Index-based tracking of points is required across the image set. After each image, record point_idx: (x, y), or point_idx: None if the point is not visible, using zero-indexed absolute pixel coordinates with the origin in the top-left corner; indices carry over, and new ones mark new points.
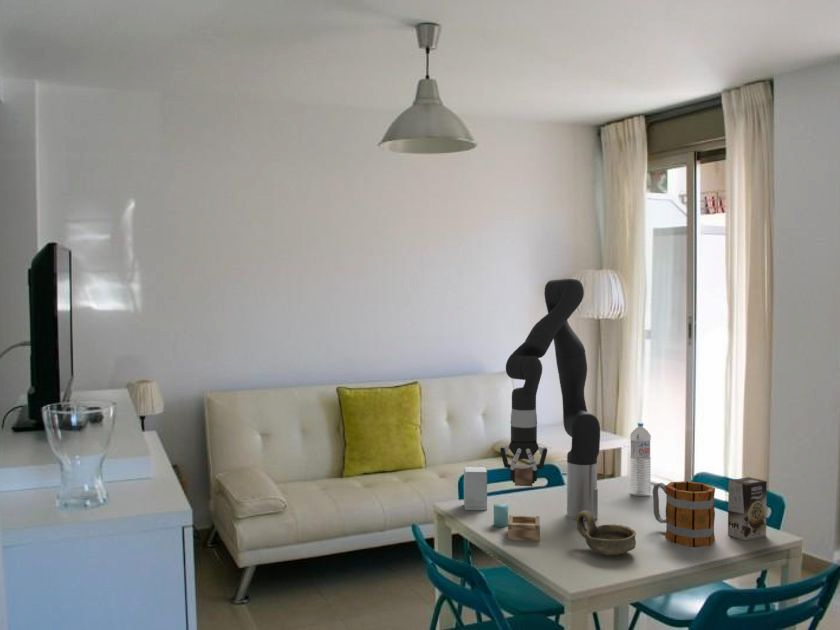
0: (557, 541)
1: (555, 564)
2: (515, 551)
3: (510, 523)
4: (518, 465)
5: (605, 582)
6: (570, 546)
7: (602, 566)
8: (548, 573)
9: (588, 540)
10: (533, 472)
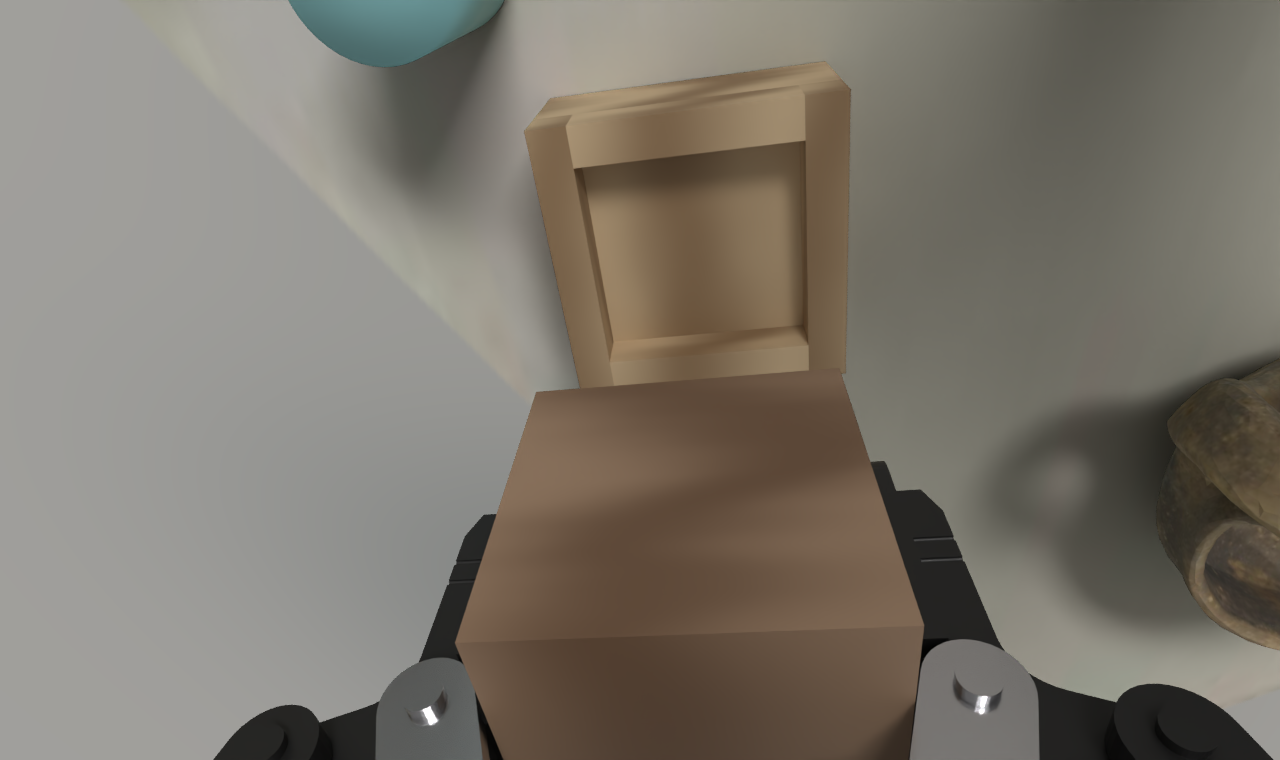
0: (960, 291)
1: None
2: None
3: (595, 367)
4: (557, 695)
5: None
6: (1041, 369)
7: (1152, 607)
8: None
9: (1175, 561)
10: None
